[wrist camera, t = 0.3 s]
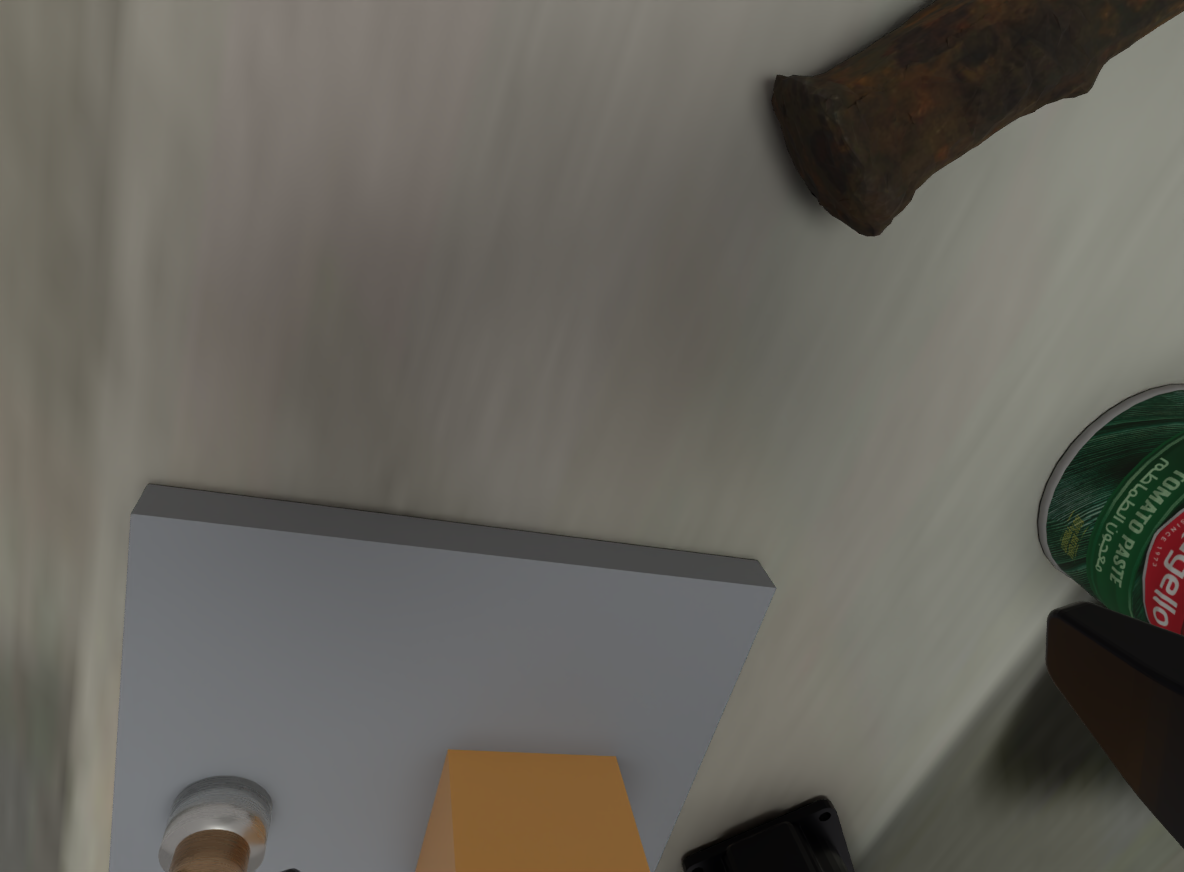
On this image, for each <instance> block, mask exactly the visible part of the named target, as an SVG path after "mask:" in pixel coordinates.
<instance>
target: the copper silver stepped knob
mask: <svg viewBox="0 0 1184 872" xmlns="http://www.w3.org/2000/svg"><path fill="white" fill-rule="evenodd" d="M272 808H273V806H272V800H271V798H270V796H269V794H268V793H267V791H266V790H265V789H264V788H263V787H261V786H260V785H259V784H257V783H255V782H253V781H251V780H248V779H245V778H241V777H236V776H214V777H209V778H205V779H202V780H199V781H196V782H194V783H192V784H190V785H189V786H187V787H186V788H185V789H183V790H182V791H181V792H180V793H179V794H178V796H177V797H176V798H175V800H174V803H173V806H172V809H171V812H170V816H169V819H168V822H167V826H166V829H165V832H164V836H163V839H162V842H161V845H160V849H159V854H158V858H159V863H160V865H161V867H162V869H163V870H164V871H165V872H254V871H255V870H256V869H257V868H258V867H259V866H260V865H261V863H262V861H263V859H264V856H265V850H266V844H267V839H268V833H269V827H270V821H271V815H272Z"/></svg>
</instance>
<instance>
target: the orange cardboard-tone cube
mask: <svg viewBox="0 0 1184 872" xmlns="http://www.w3.org/2000/svg"><path fill="white" fill-rule="evenodd" d="M415 872H650V870H649V866H648V863H647V859H646V856H645V853H644V849H643V846H642V843H641V839H640V836H639V832H638V829H637V826H636V822H635V819H634V816H633V812H632V809H631V806H630V802H629V799H628V795H627V792H626V789H625V785H624V782H623V779H622V775H621V772H620V768H619V765H618V762H617V758H616V756H595V755H571V754H546V753H522V752H498V751H474V750H449V749H448V751H447V755H446V759H445V762H444V766H443V770H442V773H441V777H440V781H439V785H438V788H437V792H436V796H435V800H434V803H433V807H432V811H431V814H430V818H429V822H428V826H427V829H426V833H425V837H424V841H423V844H422V848H421V852H420V855H419V859H418V863H417V867H416V870H415Z"/></svg>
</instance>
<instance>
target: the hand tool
mask: <svg viewBox="0 0 1184 872" xmlns="http://www.w3.org/2000/svg"><path fill="white" fill-rule="evenodd" d="M1183 11H1184V0H936V1H935V2H934V3H933V4H931V5H930V6H928V7H926V8H924V9H923V10H921V11H919V12H918V13H916V14H914V15H913V16H912V17H911V18H910V19H908V20H907V21H906V22H905V23H904V24H903V25H902V26H901V27H899V28H897V29H896V30H894V31H892V32H891V33H889V34H887V35H886V36H884V37H882V38H881V39H879V40H878V41H876V42H875V43H873V44H872V45H871V46H869V47H868V48H866V49H865V50H864V51H862V52H860V53H858V54H856V55H855V56H853V57H851V58H849V59H847V60H846V61H844V62H842V63H841V64H839V65H837V66H836V67H834V68H832V69H831V70H829V71H828V72H826V73H823V74H820V75H816V76H813V77H811V76H797V75H792V76H790V77H786V76H782V75H777V76H776V80H775V83H774V89H773V91H774V94H773V97H772V106H773V110H774V112H775V114H776V116H777V118H778V120H779V122H780V125H781V129H782V132H783V135H784V139H785V142H786V146H787V149H788V152H789V154H790V156H791V158H792V161H793V163H794V165H795V167H796V169H797V171H798V172H799V174H800V176H801V177H802V179H803V180H804V182H805V184H806V185H807V187H808V188H809V190H810V191H811V193H812V194H813V195H814V196H815V197H816V198H817V199H818V202H819V204H820V205H821V206H823V207H824V209H825V210H826V211H828V212H829V213H830V214H831V215H832V216H834V217H836V218H837V219H839V220H841V221H842V222H844V223H845V224H846V225H848V226H849V227H851V228H852V229H854V230H855V231H856V232H858V233H859V234H862V235H865V236H878V235H880V234H881V233H882V232H883V230H884V229H885V228H886V227H887V226H888V225H890V224H891V222H892V220H893V218H894V217H895V216H897V215H898V214H899V213H900V212H901V211H903V209H904V208H905V207H906V206H907V205H908V204H909V203H910V201H911V200H912V197H913V195H914V193H915V191H916V189H918V188H919V187H920V186H921V185H922V184H923V183H924V182H925V181H926V180H927V179H928V178H929V177H930V176H931V175H933V174H934V173H935V172H937V171H938V170H940V169H941V168H943V167H944V166H946V165H947V164H949V163H951V162H952V161H954V160H956V159H957V158H959V157H961V156H962V155H963V154H965V153H966V152H968V151H969V150H971V149H972V148H974V147H976V146H978V145H979V144H981V143H982V142H983V141H985V140H986V139H988V138H989V137H990V136H991V135H993V134H994V133H995V132H997V131H999V130H1000V129H1002V128H1003V127H1005V126H1006V125H1008V124H1009V123H1011V122H1013V121H1014V120H1016V119H1018V118H1019V117H1022V116H1024V115H1027V114H1030V113H1033V112H1035V111H1036V110H1037V109H1039V108H1041V107H1042V106H1044V105H1046V104H1049V103H1052V102H1055V101H1058V100H1060V99H1063V98H1075V97H1077V96H1079V95H1083V94H1086V93H1088V92H1089V90H1090V89H1091V88H1092V87H1093V85H1094V82H1095V80H1096V78H1097V76H1098V74H1099V72H1100V70H1101V69H1102V67H1103V65H1104V64H1105V63H1106V62H1107V61H1108V60H1109V59H1111V58H1112V57H1114V56H1116V55H1117V54H1119V53H1120V52H1122V51H1124V50H1125V49H1127V48H1129V47H1130V46H1131V45H1132V44H1134V43H1135V42H1136V41H1138V40H1139V39H1141V38H1142V37H1144V36H1145V35H1147V34H1148V33H1150V32H1151V31H1153V30H1154V29H1156V28H1157V27H1159V26H1160V25H1162V24H1164V23H1165V22H1167V21H1168V20H1170V19H1172V18H1173V17H1175V16H1177V15H1178V14H1180V13H1181V12H1183Z"/></svg>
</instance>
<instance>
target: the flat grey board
mask: <svg viewBox="0 0 1184 872" xmlns="http://www.w3.org/2000/svg"><path fill="white" fill-rule="evenodd" d="M775 590H776V587H775V585H774V584H773V582H772V581H771V579H770V578H769V576H768V575H767V573H766V572H765V570H764V569H763V568H762V566H761V565H760V563H759V562H758V561H757V560H749V559H741V558H733V557H725V556H717V555H709V554H701V553H693V552H685V551H677V550H669V549H661V548H653V547H645V546H637V545H629V544H621V543H613V542H606V541H598V540H590V539H582V538H574V537H566V536H558V535H550V534H542V533H534V532H526V531H518V530H510V529H502V528H494V527H486V526H478V525H470V524H463V523H455V522H447V521H439V520H431V519H423V518H415V517H407V516H399V515H391V514H383V513H375V512H367V511H359V510H351V509H343V508H335V507H327V506H319V505H312V504H304V503H296V502H288V501H280V500H272V499H264V498H256V497H248V496H240V495H232V494H224V493H216V492H208V491H200V490H192V489H184V488H176V487H168V486H161V485H153V484H148V485H147V486H146V488H145V490H144V492H143V493H142V495H141V497H140V499H139V500H138V502H137V504H136V506H135V507H134V509H133V511H132V512H131V519H130V535H129V552H128V568H127V584H126V601H125V617H124V633H123V650H122V666H121V683H120V699H119V715H118V732H117V748H116V765H115V781H114V797H113V814H112V830H111V847H110V863H109V872H165V871H164V870H163V869H162V867H161V865H160V863H159V858H158V854H159V849H160V845H161V842H162V839H163V836H164V832H165V829H166V826H167V822H168V819H169V816H170V812H171V809H172V806H173V803H174V800H175V798H176V797H177V796H178V794H179V793H180V792H181V791H182V790H183V789H185V788H186V787H187V786H189V785H190V784H192V783H194V782H196V781H199V780H202V779H205V778H209V777H214V776H236V777H241V778H245V779H248V780H251V781H253V782H255V783H257V784H259V785H260V786H261V787H263V788H264V789H265V790H266V791H267V793H268V794H269V796H270V798H271V800H272V806H273V808H272V815H271V821H270V827H269V833H268V839H267V844H266V850H265V856H264V859H263V861H262V863H261V865H260V866H259V867H258V868H257V869H256V870H255V871H254V872H281V871H284V870H287V869H290V868H295V869H298V870H299V871H300V872H415V870H416V867H417V863H418V859H419V855H420V852H421V848H422V844H423V841H424V837H425V833H426V829H427V826H428V822H429V818H430V814H431V811H432V807H433V803H434V800H435V796H436V792H437V788H438V785H439V781H440V777H441V773H442V770H443V766H444V762H445V759H446V755H447V751H448V749H449V750H474V751H498V752H522V753H546V754H571V755H595V756H616V758H617V762H618V765H619V768H620V772H621V775H622V779H623V782H624V785H625V789H626V792H627V795H628V799H629V802H630V806H631V809H632V812H633V816H634V819H635V822H636V826H637V829H638V832H639V836H640V839H641V843H642V846H643V849H644V853H645V856H646V859H647V863H648V866H649V870H650V872H655V870H656V867H657V865H658V863H659V860H660V858H661V856H662V853H663V851H664V849H665V846H666V844H667V842H668V839H669V837H670V835H671V832H672V830H673V828H674V825H675V823H676V821H677V818H678V816H679V814H680V811H681V809H682V807H683V804H684V802H685V800H686V797H687V795H688V793H689V790H690V788H691V786H692V784H693V781H694V779H695V777H696V774H697V772H698V770H699V767H700V765H701V763H702V760H703V758H704V756H705V753H706V751H707V749H708V746H709V744H710V742H711V739H712V737H713V735H714V732H715V730H716V728H717V725H718V723H719V721H720V718H721V716H722V714H723V711H724V709H725V707H726V704H727V702H728V700H729V697H730V695H731V693H732V690H733V688H734V686H735V684H736V681H737V679H738V677H739V674H740V672H741V670H742V667H743V665H744V663H745V660H746V658H747V656H748V653H749V651H750V649H751V646H752V644H753V642H754V639H755V637H756V635H757V632H758V630H759V628H760V625H761V623H762V621H763V618H764V616H765V614H766V611H767V609H768V607H769V604H770V602H771V600H772V597H773V595H774V593H775Z"/></svg>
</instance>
